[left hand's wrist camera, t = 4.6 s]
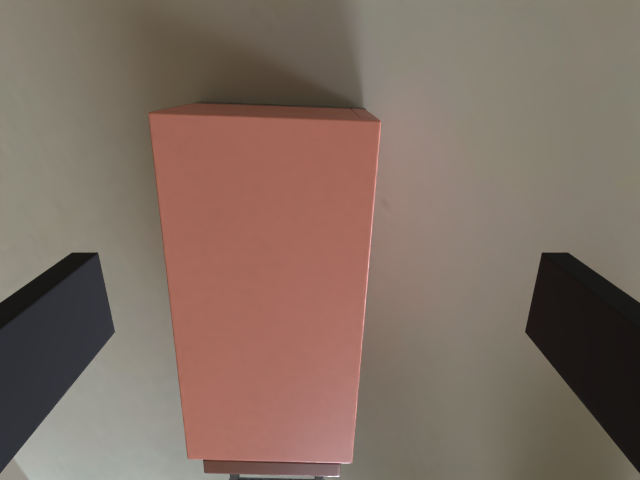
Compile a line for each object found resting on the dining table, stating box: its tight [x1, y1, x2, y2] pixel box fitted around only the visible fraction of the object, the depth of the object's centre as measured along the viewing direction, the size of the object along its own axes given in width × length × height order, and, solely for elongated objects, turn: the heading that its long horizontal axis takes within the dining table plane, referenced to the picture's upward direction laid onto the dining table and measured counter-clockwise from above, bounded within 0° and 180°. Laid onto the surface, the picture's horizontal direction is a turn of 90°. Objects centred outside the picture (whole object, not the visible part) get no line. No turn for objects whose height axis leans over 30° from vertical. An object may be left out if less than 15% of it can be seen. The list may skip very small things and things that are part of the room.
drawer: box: [203, 459, 341, 480], centre depth 27 cm, size 25×9×6 cm, turn 178°
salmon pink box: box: [148, 102, 381, 463], centre depth 25 cm, size 20×10×8 cm, turn 178°
